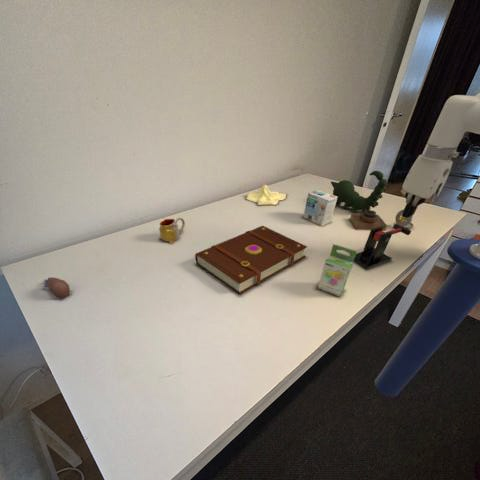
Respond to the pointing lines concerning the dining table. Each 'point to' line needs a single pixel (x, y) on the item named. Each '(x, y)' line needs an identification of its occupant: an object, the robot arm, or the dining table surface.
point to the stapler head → (393, 231)
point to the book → (250, 258)
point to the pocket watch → (404, 223)
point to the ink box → (336, 270)
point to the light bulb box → (320, 207)
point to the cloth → (265, 196)
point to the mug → (170, 229)
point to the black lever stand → (374, 250)
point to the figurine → (57, 287)
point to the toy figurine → (353, 199)
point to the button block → (367, 221)
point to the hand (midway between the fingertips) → (406, 216)
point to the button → (370, 213)
